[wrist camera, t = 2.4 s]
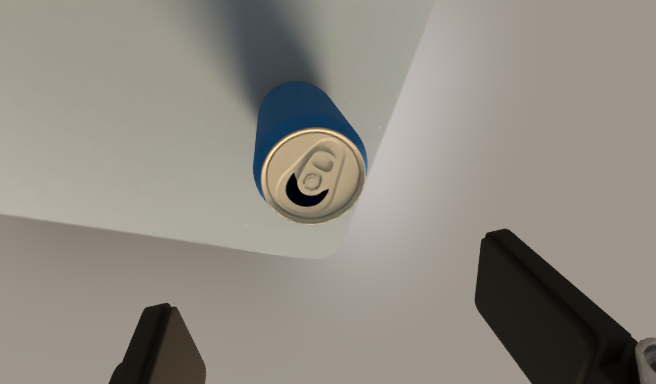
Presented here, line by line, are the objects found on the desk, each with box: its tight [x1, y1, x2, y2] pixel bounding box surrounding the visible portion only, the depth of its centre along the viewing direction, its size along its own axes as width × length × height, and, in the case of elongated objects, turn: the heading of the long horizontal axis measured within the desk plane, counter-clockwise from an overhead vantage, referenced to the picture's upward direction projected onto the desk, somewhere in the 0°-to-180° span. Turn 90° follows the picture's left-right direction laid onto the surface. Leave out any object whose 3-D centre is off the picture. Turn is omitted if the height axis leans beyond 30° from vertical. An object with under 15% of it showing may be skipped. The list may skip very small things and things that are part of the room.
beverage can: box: [253, 82, 367, 225], centre depth 23 cm, size 6×6×12 cm
